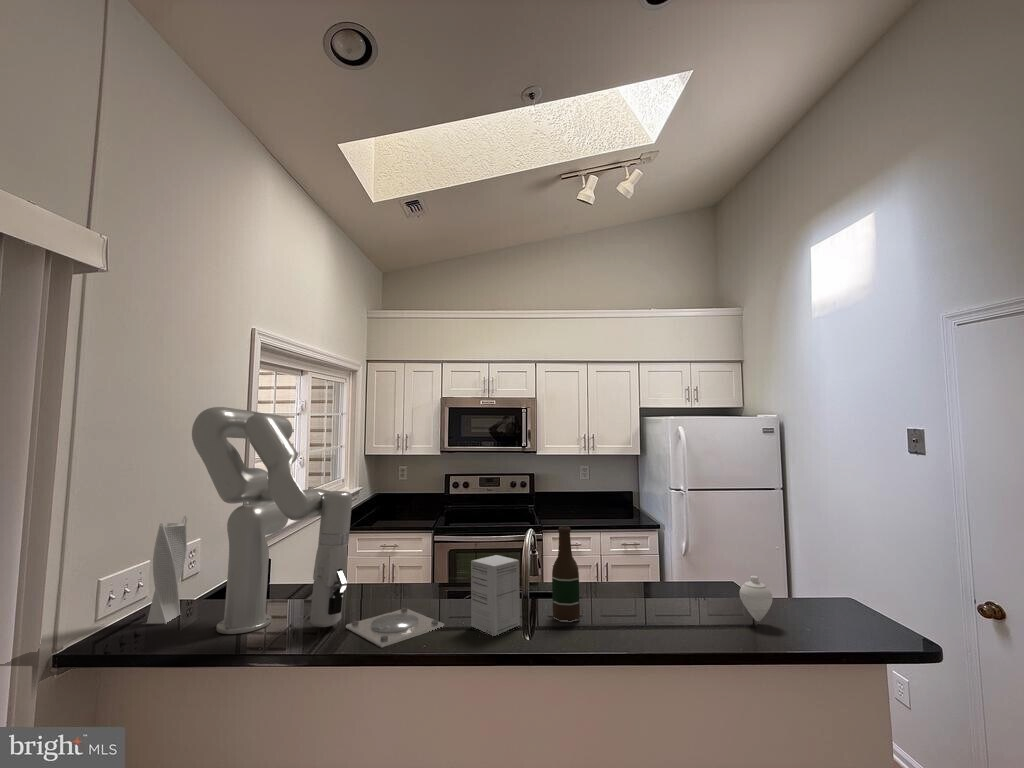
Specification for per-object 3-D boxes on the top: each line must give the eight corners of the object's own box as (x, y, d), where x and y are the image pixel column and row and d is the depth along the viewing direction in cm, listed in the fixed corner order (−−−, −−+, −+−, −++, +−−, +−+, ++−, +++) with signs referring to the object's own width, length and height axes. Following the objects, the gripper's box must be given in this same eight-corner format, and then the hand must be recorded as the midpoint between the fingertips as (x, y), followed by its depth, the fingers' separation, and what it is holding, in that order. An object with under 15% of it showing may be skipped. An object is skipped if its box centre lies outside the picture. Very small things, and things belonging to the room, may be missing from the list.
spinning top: (768, 633, 115) (763, 581, 117) (736, 624, 121) (733, 576, 123) (779, 625, 120) (775, 576, 122) (749, 617, 126) (745, 571, 128)
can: (329, 629, 116) (334, 579, 118) (303, 626, 118) (307, 576, 119) (346, 619, 123) (350, 572, 125) (321, 616, 125) (325, 569, 127)
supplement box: (497, 618, 127) (496, 554, 129) (521, 627, 120) (520, 559, 123) (469, 628, 120) (470, 559, 123) (493, 637, 114) (493, 565, 116)
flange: (345, 627, 121) (346, 621, 121) (406, 611, 134) (406, 605, 134) (381, 647, 108) (381, 640, 109) (443, 627, 121) (444, 620, 121)
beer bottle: (585, 616, 128) (582, 526, 131) (573, 625, 121) (571, 530, 125) (560, 611, 132) (558, 524, 136) (547, 620, 125) (545, 527, 129)
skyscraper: (190, 616, 132) (198, 514, 136) (168, 626, 124) (178, 518, 128) (160, 616, 132) (170, 514, 136) (137, 626, 124) (148, 518, 128)
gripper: (306, 535, 127) (299, 603, 125) (334, 546, 115) (327, 622, 112) (333, 532, 132) (327, 598, 130) (362, 542, 120) (356, 615, 118)
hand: (327, 608), depth 121 cm, fingers closed on can, 7 cm apart
